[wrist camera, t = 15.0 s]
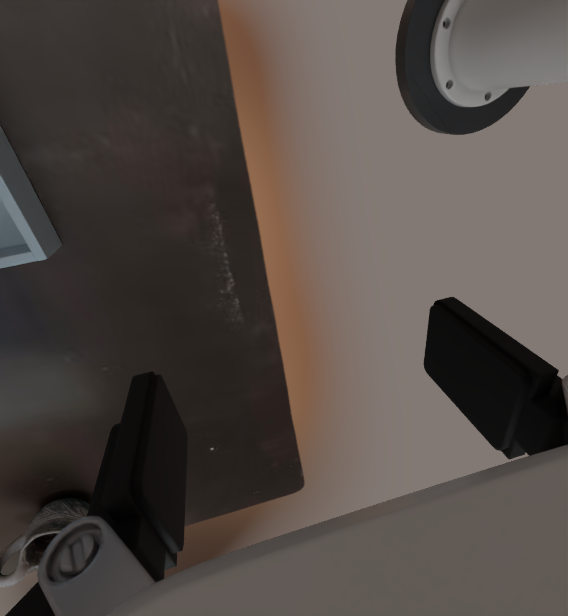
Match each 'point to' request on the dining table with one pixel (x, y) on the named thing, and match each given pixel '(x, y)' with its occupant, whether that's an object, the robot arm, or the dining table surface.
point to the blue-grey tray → (21, 214)
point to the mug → (41, 536)
